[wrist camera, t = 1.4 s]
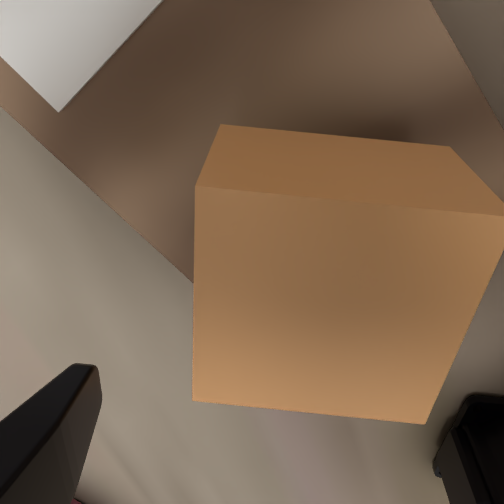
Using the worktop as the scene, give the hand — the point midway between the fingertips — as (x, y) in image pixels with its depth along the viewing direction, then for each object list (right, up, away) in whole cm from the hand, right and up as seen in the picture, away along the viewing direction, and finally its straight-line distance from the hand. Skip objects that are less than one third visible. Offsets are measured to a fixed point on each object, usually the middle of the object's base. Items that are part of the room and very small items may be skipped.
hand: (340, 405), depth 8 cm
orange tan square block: (0, +3, +5) cm, 6 cm away
